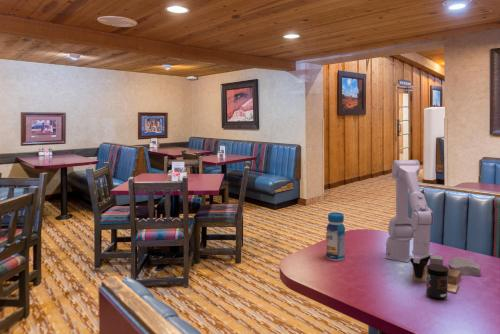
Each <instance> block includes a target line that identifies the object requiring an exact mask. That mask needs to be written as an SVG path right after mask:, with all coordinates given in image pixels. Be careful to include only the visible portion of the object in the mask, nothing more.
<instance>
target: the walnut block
mask: <svg viewBox="0 0 500 334" xmlns="http://www.w3.org/2000/svg"><path fill="white" fill-rule="evenodd" d="M448 269H449V274H448V284H452V285H457V286H458V284H459V282H460V281H461V278H462V277H461V276H462V275H461V271H458V270H454V269H452V268H449V267H448Z"/></svg>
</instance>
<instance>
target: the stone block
mask: <svg viewBox="0 0 500 334" xmlns="http://www.w3.org/2000/svg"><path fill="white" fill-rule="evenodd" d="M448 262H449V266H450V269H454V270H458V271H461V276H463V277H466V276H468V277H469V276H471V277H473V276H474V277H480V276H481V266H480V264H478V263H477V262H475V260H474V259H473V258H465V257H453V258H450V259H449V260H448Z"/></svg>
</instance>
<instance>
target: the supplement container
mask: <svg viewBox="0 0 500 334" xmlns="http://www.w3.org/2000/svg"><path fill="white" fill-rule="evenodd" d="M448 268H449V267H448V266H445V265H444V264H443V265H439V264H427V280H426V281H425V283H426V286H425V287H426V288H425V294H426V296H427V297H428V298H430V299H432V300H434V301H443V300H446V299H447V297H448V292H447V291H448V274H449V269H450V268H449V269H448Z"/></svg>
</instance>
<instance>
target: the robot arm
mask: <svg viewBox="0 0 500 334" xmlns="http://www.w3.org/2000/svg"><path fill="white" fill-rule="evenodd" d="M420 170H421V163H420V161H419V160H418V159H401V160H400V159H398V160H397V159H394V160H393V162H392V163H391V178H392V179H394V180H395V216H393V217H392V218H391V219H389V223H388V228H387V231H388V232H387V233H388V237H387V239H386V241H385V259H388V260H393V261H398V262H404V263H409V262H410V263H411V264H412V269H413V268H414V273H415V277H416V278H422V275H423V270H424V267H425V265H428V263H429V262H430V257H432V256H433V255H434V254H433V253H432V252H430V248H431V247H430V246H431V245H430V244H431V243H430V242H431V226H432V225H433V224H434V220H435V219H434V218H435V217H434V212H433V210H432V209H431V208H430V207H429V206H428V202H427V200H426V196H425V194H424V193H422V192H421V189H420V184H419V174H420ZM409 194H410V195H409ZM409 203H410V207H411V208H410V209H411V212H412V213H411V218H410V217H409ZM412 240H413V241H412ZM411 241H412V244H413V245H412V255H410V252H411V250H410V247H411V245H410V244H411Z"/></svg>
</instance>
